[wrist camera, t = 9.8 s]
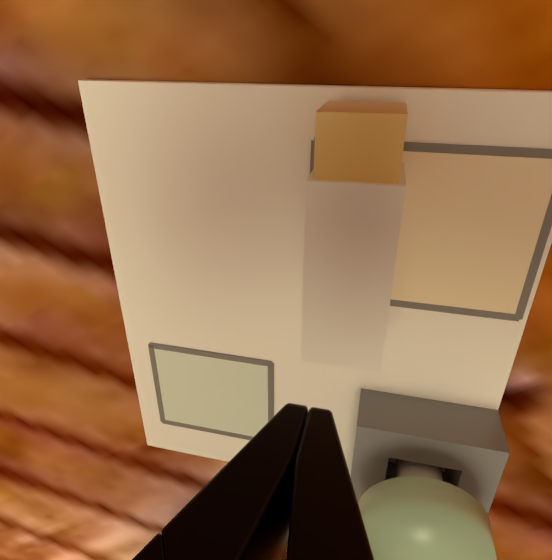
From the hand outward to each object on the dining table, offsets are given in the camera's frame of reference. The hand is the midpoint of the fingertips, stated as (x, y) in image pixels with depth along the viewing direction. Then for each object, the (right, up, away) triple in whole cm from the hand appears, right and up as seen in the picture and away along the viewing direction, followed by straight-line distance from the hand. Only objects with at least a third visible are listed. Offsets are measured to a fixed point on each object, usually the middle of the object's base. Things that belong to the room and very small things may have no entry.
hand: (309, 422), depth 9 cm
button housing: (+6, -5, +14) cm, 16 cm away
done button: (+6, -6, +12) cm, 15 cm away
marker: (+2, +5, +9) cm, 10 cm away
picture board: (+1, +1, +12) cm, 12 cm away
